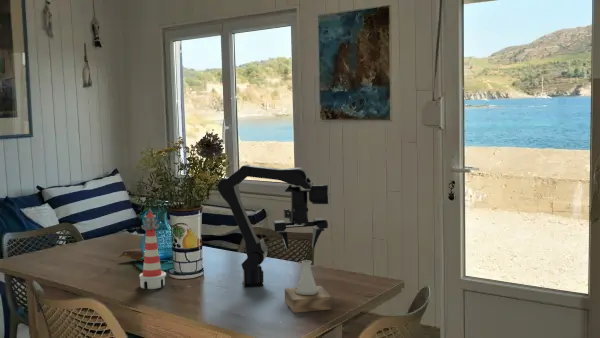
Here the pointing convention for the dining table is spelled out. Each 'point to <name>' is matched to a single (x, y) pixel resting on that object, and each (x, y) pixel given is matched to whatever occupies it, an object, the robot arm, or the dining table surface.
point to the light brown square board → (307, 300)
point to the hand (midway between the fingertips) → (300, 248)
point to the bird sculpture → (133, 254)
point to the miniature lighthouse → (151, 257)
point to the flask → (306, 280)
